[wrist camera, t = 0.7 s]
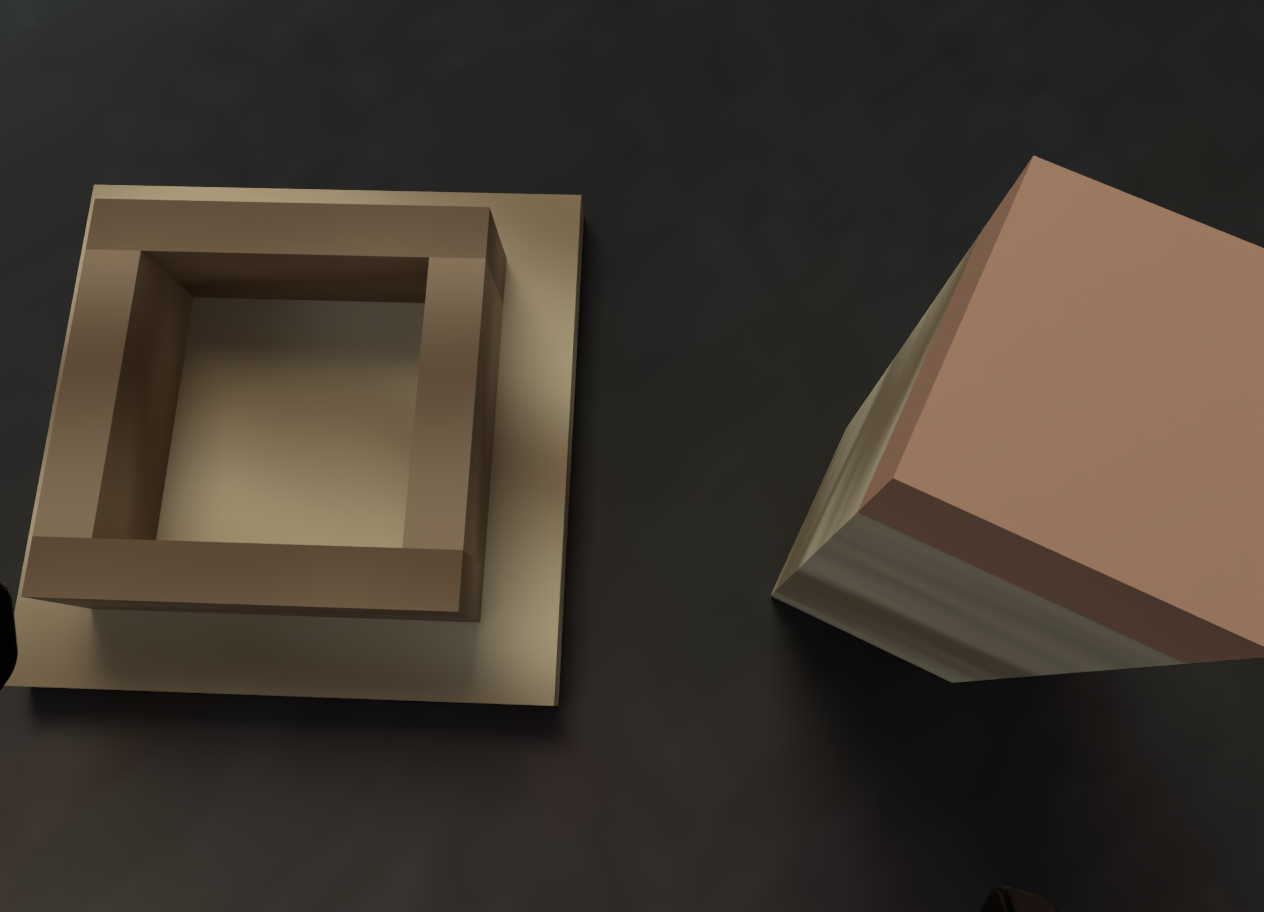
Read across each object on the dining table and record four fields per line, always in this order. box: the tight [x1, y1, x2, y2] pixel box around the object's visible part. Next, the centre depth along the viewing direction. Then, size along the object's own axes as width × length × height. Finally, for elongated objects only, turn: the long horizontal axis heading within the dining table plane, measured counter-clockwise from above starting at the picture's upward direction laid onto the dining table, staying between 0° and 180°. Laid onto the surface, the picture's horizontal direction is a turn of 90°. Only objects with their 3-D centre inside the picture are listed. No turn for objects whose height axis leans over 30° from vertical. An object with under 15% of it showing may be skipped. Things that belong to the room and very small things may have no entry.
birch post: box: [771, 156, 1264, 683], centre depth 17 cm, size 4×4×12 cm
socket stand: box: [4, 185, 584, 706], centre depth 22 cm, size 12×12×4 cm
